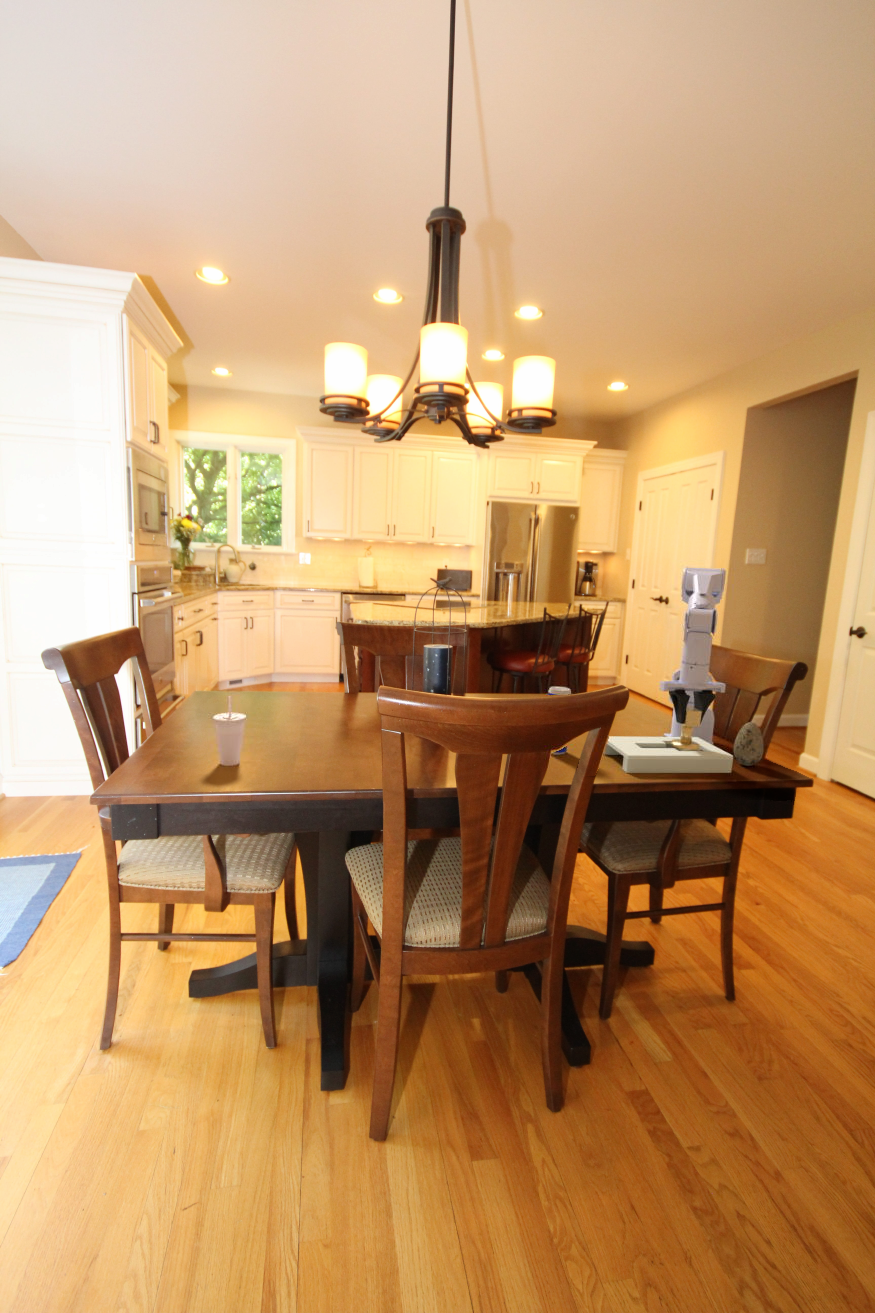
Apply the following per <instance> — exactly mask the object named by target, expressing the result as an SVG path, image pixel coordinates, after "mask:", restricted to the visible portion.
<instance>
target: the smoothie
mask: <svg viewBox="0 0 875 1313" xmlns="http://www.w3.org/2000/svg"><path fill="white" fill-rule="evenodd" d="M232 711H233V710H232V695H228V712H223V713H218V714H216V715H213V717H212V723H213V724H214V728H215V734H216V735H215V736H216V743H217V749H218V755H219V757H218V758H219V762H220V763H219V764H220V765H222V766H225V767H229V766H230V767H231V766H237V765H239V764H240V762H241V753H242V748H243V738H244V732H245V731H244V730H245V723H247V715H246V714H244V713H240V712H232Z"/></svg>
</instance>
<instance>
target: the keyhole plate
mask: <svg viewBox="0 0 875 1313" xmlns="http://www.w3.org/2000/svg"><path fill="white" fill-rule="evenodd" d="M608 736H609V735H608ZM680 738H681V737H666V736H622V735H621V736H616V735H615V736H612V735H611V736H609V739H608V742H607V745H606V748H605V754H604V756H605V755H606V756H610V755H611V756H620V755H621V756H623V759H622V760H623V761H622V770H623V772H625V773H626V774H627V773H628V774H638V773H639V774H640V773H641V774H661V773H662V774H663V773H664V774H665V773H666V774H669V773H670V774H679V773H680V774H681V773H682V774H685V773H686V774H690V773H691V774H701V773H702V774H709V773H710V774H711V773H712V774H714V773H715V774H718V773H719V774H720V773H721V774H723V773H724V774H727V773H728V774H729V773H730V774H731V773H732V768H733V763H734V762H733V760H734V754H733V755H732V754H731V753H729V752H727V751H724V750H723V749H721V748H720V747H717V746H715V745H714V744H710V743H708V742H706V741H704V740H702V739H700V738H698V737H692V741H693V742H696V743H698V744H699V745H700V749H699V751H680V750H677V749H675V748H673V747H671V741H672V740H674V739H680Z"/></svg>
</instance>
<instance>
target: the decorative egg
mask: <svg viewBox="0 0 875 1313" xmlns="http://www.w3.org/2000/svg"><path fill="white" fill-rule="evenodd" d="M763 754H764V740H763V734H762V732H761V729H760V727H759V726H758V725H757V724H756V723H755V722H752V721H749V722H746V723H745V724H744V725H743V726H742V727H741V728H740V730H739V731H738V733H737V735H736V737H735V739H734V742H733V756H734V757H735V759H736V761H737V762H738V763H739V764H741V765H743V766H747V767H750V766H754V765H756V764H758V763H759V762H760V761H761V759H762V757H763Z"/></svg>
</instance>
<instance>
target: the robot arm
mask: <svg viewBox="0 0 875 1313" xmlns="http://www.w3.org/2000/svg"><path fill="white" fill-rule="evenodd" d="M726 572H727V571H726V570H725V568H723V567H722V568H713V567H712V568H709V567H707V568H705V567H689V566H686V567H684V568H683V572H682V579H681V580H682V582H681V596H680V597H681V601H682V602H684V603H685V604H687V609H686V610H685V612H684V617H683V625H682V626H683V627H682V629H683V640H682V642H683V645H682V653H681V654H682V655H681V666H680V668H679V669H677V670H675V671H674V672H673V674H672V675H671V680H661V681H660V682H659V690H660V691H662V692H668V694H669V698H668V700H669V702H670V704H673V711H672V719H671V727H670V728H671V729H670V733H667V732H666V733H663V737H681V730H682V724H684V721H685V714H686V708H687V707H694V708H696V709H698V710H700V711H702V713H701V720H700V727H694V728H693V735H692V737H698V738H700V739H702V740H704V741H706V742H708V743H710V744H712V745H714V741H713V734H714V727H715V713H714V711H713V709H712V708H711V707H710V706H711V705H712V703H713V701H715V699H716V695H717V694H716V693H721V694H722V693H725V692H726V685H727V684H726V683H723V682H721V681H720V682H715V681H714V679H713V676H712V675H711V674H710V673H709V671H710V662H711V654H712V646H713V637H714V636H715V634H716V632H717V631H716V630H717V626H718V625H717V624H718V623H717V622H718V611H717V608H716V605H718V604H720V603H721V600H722V599H723V594H724V593H723V592H724V591H725V585H726V584H725V583H726V578H727V577H726V576H727V573H726ZM712 635H713V636H712ZM715 692H716V693H715Z"/></svg>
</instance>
